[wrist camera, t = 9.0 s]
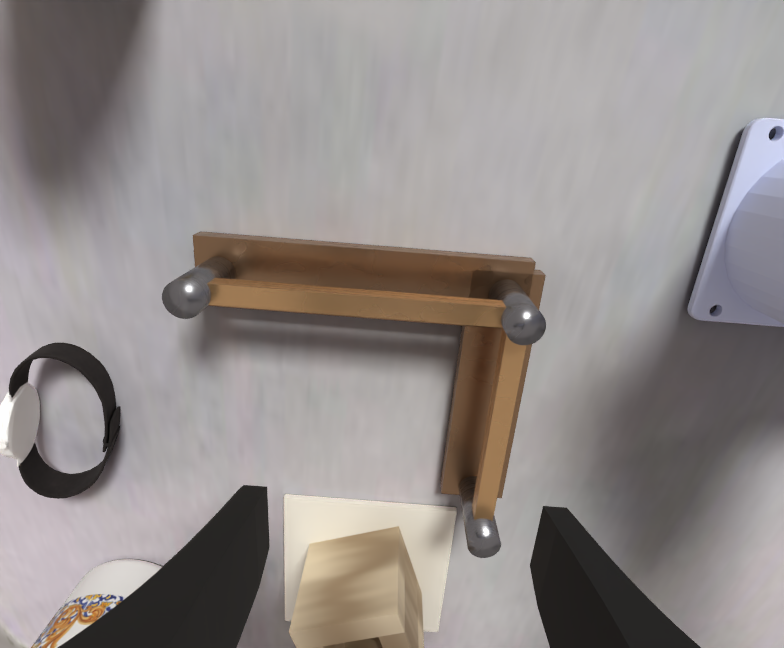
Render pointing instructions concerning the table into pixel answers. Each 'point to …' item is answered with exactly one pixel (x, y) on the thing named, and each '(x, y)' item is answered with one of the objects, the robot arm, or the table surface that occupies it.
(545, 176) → the table surface
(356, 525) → the coaster
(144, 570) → the bath foam
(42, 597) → the table surface
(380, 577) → the hollow wooden cube
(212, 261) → the wooden rail
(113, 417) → the watch
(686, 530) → the table surface
